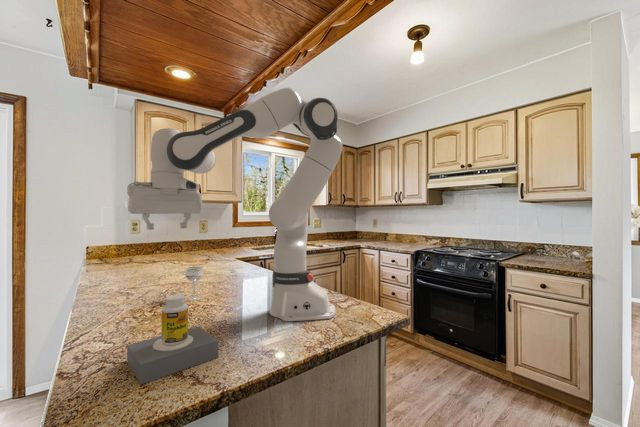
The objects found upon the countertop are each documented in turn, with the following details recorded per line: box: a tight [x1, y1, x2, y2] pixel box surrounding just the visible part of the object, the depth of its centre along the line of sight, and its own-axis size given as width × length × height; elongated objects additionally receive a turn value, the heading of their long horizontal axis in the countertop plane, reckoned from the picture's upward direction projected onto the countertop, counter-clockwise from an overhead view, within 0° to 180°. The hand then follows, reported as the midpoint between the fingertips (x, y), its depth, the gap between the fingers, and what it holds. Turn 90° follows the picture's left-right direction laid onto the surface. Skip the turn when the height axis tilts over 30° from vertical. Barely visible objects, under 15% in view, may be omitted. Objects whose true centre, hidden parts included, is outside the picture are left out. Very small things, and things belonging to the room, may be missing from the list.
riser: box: [126, 325, 219, 385], centre depth 69 cm, size 16×12×4 cm
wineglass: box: [184, 266, 204, 301], centre depth 118 cm, size 7×7×12 cm
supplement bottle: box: [160, 294, 189, 345], centre depth 69 cm, size 6×6×10 cm
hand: (167, 228), depth 91 cm, fingers open, 8 cm apart
